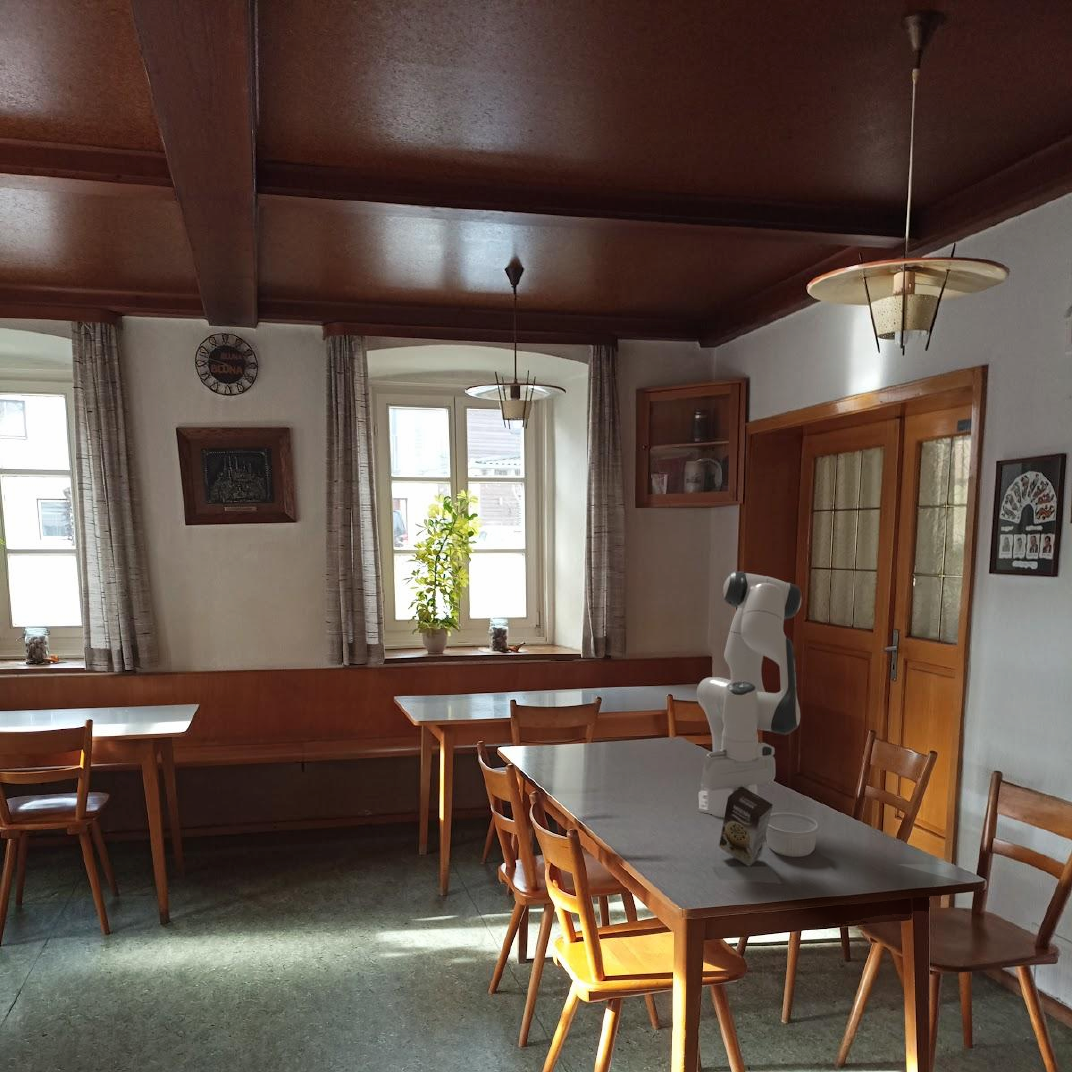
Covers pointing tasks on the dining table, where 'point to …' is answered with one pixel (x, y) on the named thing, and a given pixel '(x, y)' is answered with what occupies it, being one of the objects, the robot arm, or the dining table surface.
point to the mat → (747, 874)
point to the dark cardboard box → (745, 825)
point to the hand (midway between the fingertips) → (738, 802)
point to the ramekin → (791, 834)
